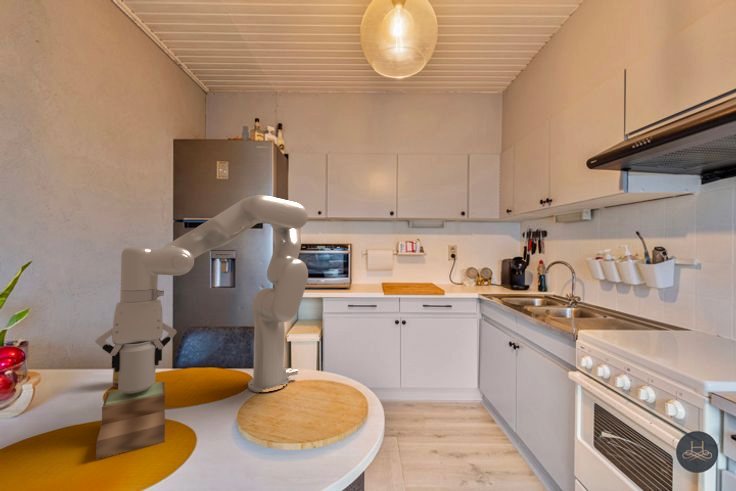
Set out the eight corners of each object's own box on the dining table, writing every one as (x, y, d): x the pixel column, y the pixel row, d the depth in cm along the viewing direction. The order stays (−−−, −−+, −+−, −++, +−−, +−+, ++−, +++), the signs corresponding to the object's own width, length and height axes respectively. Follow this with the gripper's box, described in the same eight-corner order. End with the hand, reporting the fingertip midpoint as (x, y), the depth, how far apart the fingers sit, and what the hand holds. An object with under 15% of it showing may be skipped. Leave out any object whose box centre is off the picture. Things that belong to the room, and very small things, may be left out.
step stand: (163, 411, 85) (164, 380, 85) (164, 441, 72) (165, 405, 72) (106, 424, 79) (107, 391, 79) (96, 460, 65) (97, 420, 65)
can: (135, 396, 74) (136, 345, 74) (110, 393, 76) (111, 343, 76) (162, 383, 81) (163, 337, 81) (138, 380, 83) (139, 335, 83)
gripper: (178, 292, 87) (177, 356, 86) (96, 297, 77) (94, 369, 77) (180, 295, 81) (178, 365, 80) (91, 301, 71) (89, 380, 71)
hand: (137, 366), depth 79 cm, fingers closed on can, 7 cm apart
